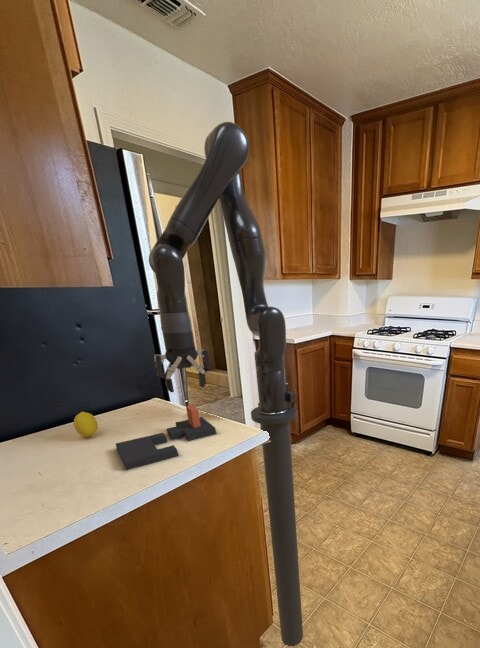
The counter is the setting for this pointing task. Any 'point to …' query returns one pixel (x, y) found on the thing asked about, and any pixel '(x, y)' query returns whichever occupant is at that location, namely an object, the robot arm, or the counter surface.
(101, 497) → the counter surface
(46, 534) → the counter surface
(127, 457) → the base pad
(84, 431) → the lemon
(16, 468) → the counter surface
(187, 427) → the pad
